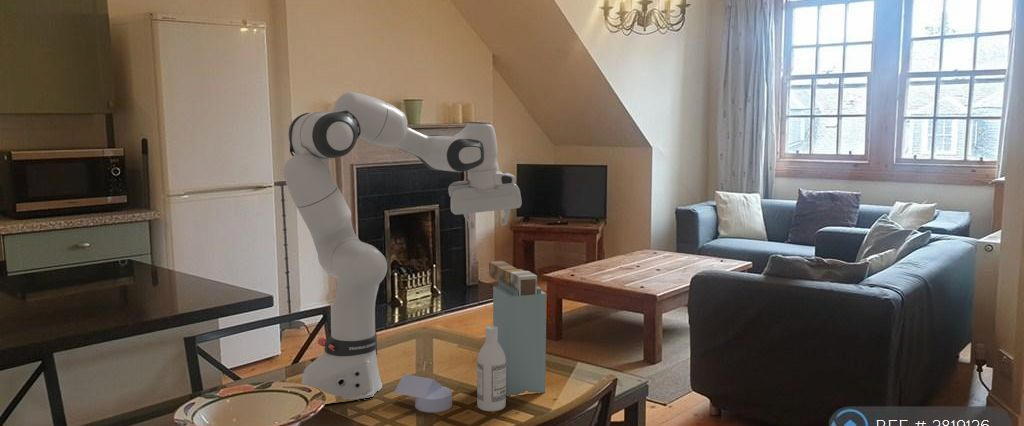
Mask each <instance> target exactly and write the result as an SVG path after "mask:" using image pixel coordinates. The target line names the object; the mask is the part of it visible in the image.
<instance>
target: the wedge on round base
mask: <svg viewBox="0 0 1024 426" xmlns="http://www.w3.org/2000/svg"><path fill="white" fill-rule="evenodd" d="M393 394H399V395H403V396H409V397H414V407H415V409H417V411H420V412H424V413H440V412H445V411H447V410H450V408H452V406H453V390H452V389H451V388H449V387H447V386H443V385H441V383H440V382H438V381H437V380H436V379H434V378H429V377H424V376H423V377H422V376H418V375H412V374H406V373H404V374H402V376H401V378H400V380H399V382H398V384H397V386H396V388H395V390H394V392H393Z"/></svg>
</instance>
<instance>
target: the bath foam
mask: <svg viewBox="0 0 1024 426" xmlns="http://www.w3.org/2000/svg"><path fill="white" fill-rule="evenodd" d="M476 375H477V376H476V379H477V380H476V387H477V388H476V389H477V390H476V399H477V402H476V405H477V408H478V409H479V410H481V411H484V412H490V413H491V412H498V411H502V410H503V409H504V408H505V407H506V402H507V401H506V400H507V397H506V396H507V395H506V358H505V354H504V351H503V349H502V348H501V346H500V345H499V343H498V328H497V327H496V326H493V325H488V326H486V327H485V342H484V344H483V345H482V346H481V347H480V350H479V351H478V355H477V359H476Z"/></svg>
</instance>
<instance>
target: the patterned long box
mask: <svg viewBox="0 0 1024 426" xmlns="http://www.w3.org/2000/svg"><path fill="white" fill-rule="evenodd" d="M488 276H489V277H490V278H492V279H493V280H495V281H497V282H498V281H499V280H502V281H504V282H505V283H507V284H509V285H510V286H512V287H513V288H515V289H517V290H518V296H524V295H536V294H537V286H538V275H536V274H535V273H533V272H531V271H529V270H524V269H522V268H516V267H514V266H513V265H511V264H509V263H507V262H505V261H503V260H495V261H489V262H488Z"/></svg>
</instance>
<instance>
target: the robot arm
mask: <svg viewBox="0 0 1024 426" xmlns="http://www.w3.org/2000/svg"><path fill="white" fill-rule="evenodd" d="M358 138H360V139H361V140H364V141H365V142H368V143H371V144H373V145H377V146H381V147H386V148H398V149H400V150H402V151H404V152H406V153H409V154H411V155H413V156H415V157H416V158H418V160H420V162H421V163H422V164H423V165H424V166H425V167H426V168H427V169H430V170H433V171H444V172H445V171H446V172H453V173H463V172H466V171H467V175H468V177H467V178H468V179H467V180H461V181H453V182H452V183H450V184H449V185H448V187H447V188H448V189H447V191H448V196H449V198H450V211H451V213H452V214H453V215H455V216H457V215H463V218H464V219H465V220H466V222H467V224H468V225H467V226H468V229H470V230H471V229H472V230H473V229H475V222H474V221H471V220H470V219H469V218H470V216H471V215H470V214H473V213H474V214H476V213H486V212H495V211H503V212H504V215H503V217H500V225H501V226H506V225H508V221H507V220H508V217H509V215H510V214H511V210H513V209H520V208H521V206H522V203H523V202H522V195H521V190H520V188H519V186H518V185H517V184H516V183H517V178H516V176H515V175H514V174H512V173H509V172H505V171H500V166H499V165H500V164H499V163H498V154H499V153H498V139H497V133H496V130H495V128H494V126H493V124H491V123H489V122H484V121H469V122H467V123H466V125H465V126H464V127H463V129H462V130H460V131H459V132H458V133H456V134H454V135H453V136H446V135H440V134H429V135H428V134H427V135H426V134H423V133H421V132H419V131H417V130H415V129H413V128H410V127H408V118H407V116H406V114H405V112H403V111H402V110H401V109H399V108H397V107H396V106H395V105H392V104H391V103H389V102H386V101H385V100H382V99H380V98H377V97H374V96H372V95H368V94H365V93H361V92H360V93H359V92H354V91H347V92H345V93H343V94H342V95H340V96H339V98H337V100H336V102H335V103H334V106H333V109H332V110H331V111H329V112H327V111H314V112H304V113H302V114H300V115H298V116H297V117H295V118H294V119H293V120H292V121H291V123H290V125H289V128H288V141H289V152H290V155H291V157H289V159H288V160H286V162H285V163H284V165H283V169H282V175H283V178H284V181H285V184H286V187H287V189H288V191H289V195H290V197H291V199H292V202H293V203H294V205H295V206H296V208H297V210H298V213H299V214H300V216H301V217H302V220H303V222H304V223H305V225H306V227H307V229H308V231H309V233H310V236H311V238H312V240H313V245H314V246H315V250H316V253H317V260H318V264H320V266H321V268H322V269H323V270H324V271H325V272H326V274H328V275H329V276H331V277H333V278H335V279H336V280H337V289H336V294H335V297H334V300H333V302H332V304H331V306H330V324H331V325H330V331H331V332H330V336H329V338H327V339H326V338H324V337H323V336H322V337H318V339H317V344H318V345H319V346H321V347H324V351H323V352H322V353H321V354H320V355H318V357H317V358H316V359H314V360H313V361H312V362H311V363H310V364H308V366H307V367H305V368H304V370H303V375H302V379H301V385H302V384H305V385H308V386H312V387H315V388H319V389H321V390H322V391H324V392H325V393H328V394H332V395H336V396H341V397H342V398H343V399H359V398H369V397H373V396H374V397H375V395H374V394H376V393H377V391H378V392H380V391H381V389H382V388H383V383H382V380H381V377H380V371H379V368H378V367H379V366H378V358H377V354H376V353H377V348H378V335H377V333H376V310H375V309H376V302H377V301H376V300H377V295H378V292H379V287H380V284H381V283H382V282H383V281H384V279H385V277H386V275H387V271H388V262H387V258H386V257H385V255H383V253H382V252H381V251H380V250H379V249H378V248H377V247H376V246H374V245H372V244H369V243H367V242H364V241H361V240H360V239H359V237H358V236H357V235H356V233H355V231H354V227H353V223H352V211H351V209H350V207H349V205H348V203H347V202H346V201H347V200H346V199H345V198H344V195H343V193H342V192H341V190H340V188H339V186H338V184H337V182H336V181H335V178H334V177H333V175H332V173H331V169H330V159H339V158H341V157H344V156H346V155H348V154H349V153H350V152H351V151H352V149H353V148H354V147H355V145H356V143H357V141H358ZM374 397H373V398H374Z"/></svg>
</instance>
